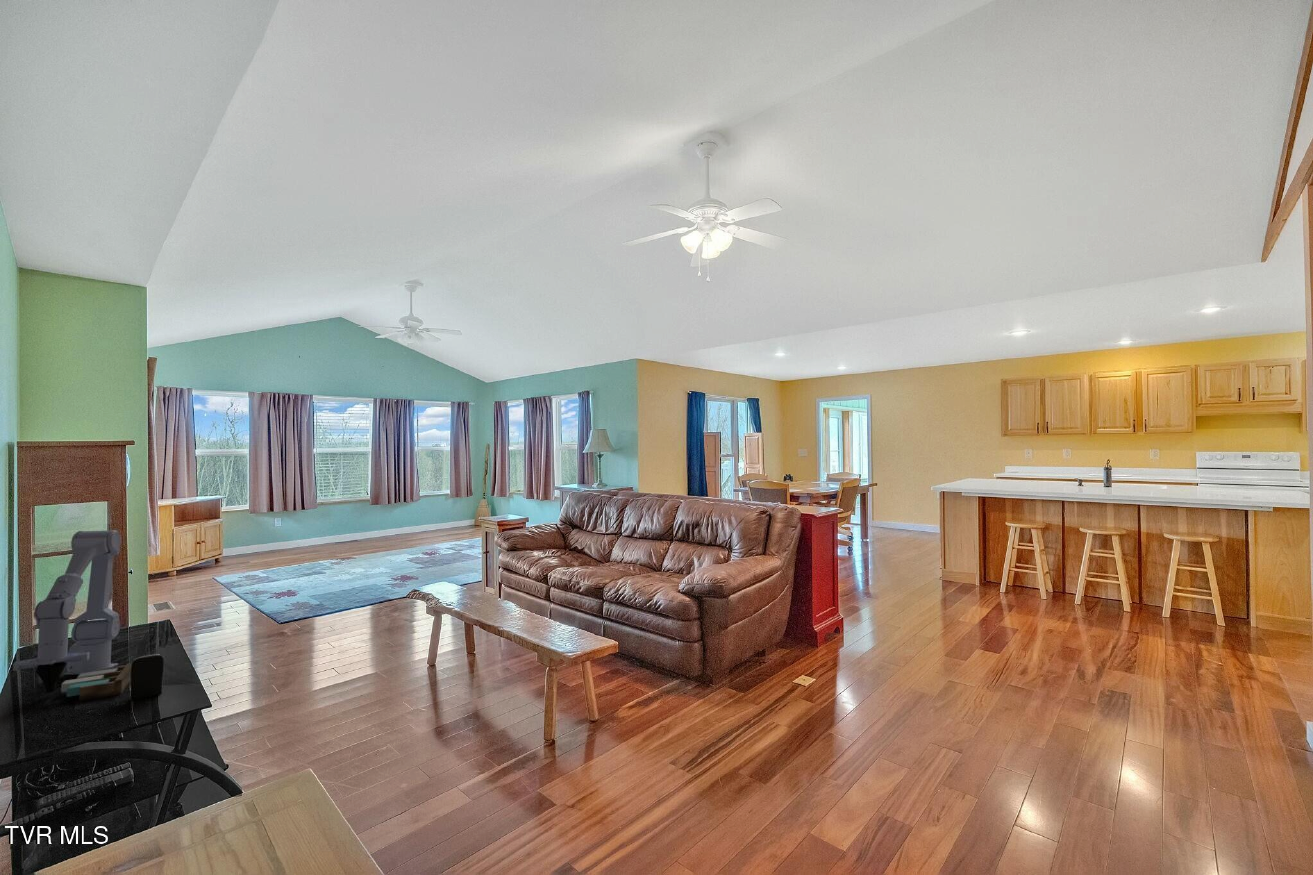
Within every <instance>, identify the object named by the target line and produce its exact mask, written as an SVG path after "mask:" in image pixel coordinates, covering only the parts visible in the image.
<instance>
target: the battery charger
mask: <svg viewBox="0 0 1313 875" xmlns="http://www.w3.org/2000/svg"><path fill="white" fill-rule="evenodd" d="M130 663H131V671H130V681H129V683H130V686H129V687H130V690H129V691H130V693H129V694H130V695H129V700H130V701H135V700H140V699H146V698H150V697H155V696H158V695H161V694H162V693H163V682H164V672H165V657H164V655H163V654H162V653H159V652H156V653H155V652H154V653H148V654H144V655H143V654H142V655H138V656H136V657H134V658H133V659H132V661H131V662H130Z"/></svg>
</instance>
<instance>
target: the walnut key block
mask: <svg viewBox="0 0 1313 875" xmlns="http://www.w3.org/2000/svg"><path fill="white" fill-rule="evenodd" d="M131 663H132V662H128V663H126V664H125V665H117V666H114V667H110V668H104V669H97V670H95V671H101V670H108V669H115V668H118V671H116V672H109V673H102V674H96V675H91V676H90V677H93V676H99V675H104V678H102V679H95V680H89V681H85V683H86V682H93V681H99V680H106V679H110V682H108V683H101V684H95V685H89V686H82V687H80V695H78V696H79V698H78V699H79V701H86V700H93V699H98V698H104V697H110V696H116V695H121V694H122V693H124V691H125V689H126V687H127V686H128V685H129V683H130V671H131Z"/></svg>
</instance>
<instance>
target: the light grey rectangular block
mask: <svg viewBox="0 0 1313 875" xmlns="http://www.w3.org/2000/svg"><path fill="white" fill-rule="evenodd" d="M116 671H118V668H115V669H108V670H101V671H94V672H88V673H81V674H78V675H77V678H76V679H80V678H86V677H90V676H91V675H96V674H102V673H109V672H116Z"/></svg>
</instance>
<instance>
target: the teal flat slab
mask: <svg viewBox="0 0 1313 875" xmlns="http://www.w3.org/2000/svg"><path fill="white" fill-rule="evenodd" d="M108 682H110V679H106V680H99V681H93V682H86V683H80V684H73V685H70V686H69V687H68V688H67V692H66V697H67V698H69V697H75V696H80V687H82V686H89V685H95V684H101V683H108Z"/></svg>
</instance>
